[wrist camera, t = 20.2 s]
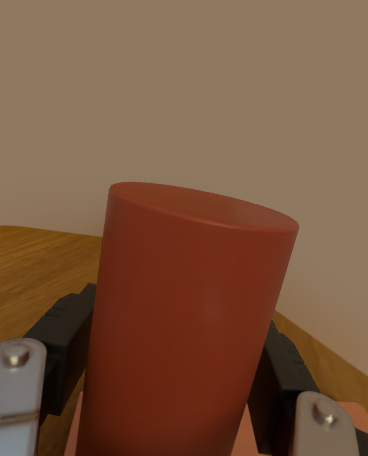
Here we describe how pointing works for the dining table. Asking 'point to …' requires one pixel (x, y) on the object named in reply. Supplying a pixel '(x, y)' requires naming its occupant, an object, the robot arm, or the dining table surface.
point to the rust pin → (179, 319)
